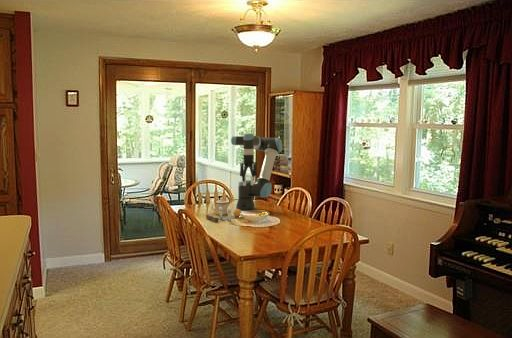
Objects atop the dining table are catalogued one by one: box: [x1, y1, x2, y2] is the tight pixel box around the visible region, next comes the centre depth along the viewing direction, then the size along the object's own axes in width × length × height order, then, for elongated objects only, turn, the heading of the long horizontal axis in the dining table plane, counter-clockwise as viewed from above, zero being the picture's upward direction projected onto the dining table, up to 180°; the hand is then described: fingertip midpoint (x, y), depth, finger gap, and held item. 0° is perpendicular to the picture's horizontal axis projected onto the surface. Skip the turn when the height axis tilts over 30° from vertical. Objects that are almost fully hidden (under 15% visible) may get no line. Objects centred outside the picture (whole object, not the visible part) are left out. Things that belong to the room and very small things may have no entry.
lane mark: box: [218, 215, 240, 221], centre depth 330 cm, size 18×8×1 cm, turn 125°
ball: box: [233, 209, 242, 217], centre depth 333 cm, size 6×6×6 cm
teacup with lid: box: [211, 198, 228, 216], centre depth 344 cm, size 12×9×12 cm
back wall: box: [205, 213, 219, 223], centre depth 322 cm, size 14×2×3 cm, turn 35°
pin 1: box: [218, 207, 224, 220], centre depth 325 cm, size 2×2×8 cm
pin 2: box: [227, 208, 232, 222], centre depth 321 cm, size 2×2×8 cm
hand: (248, 185), depth 336 cm, fingers open, 6 cm apart
